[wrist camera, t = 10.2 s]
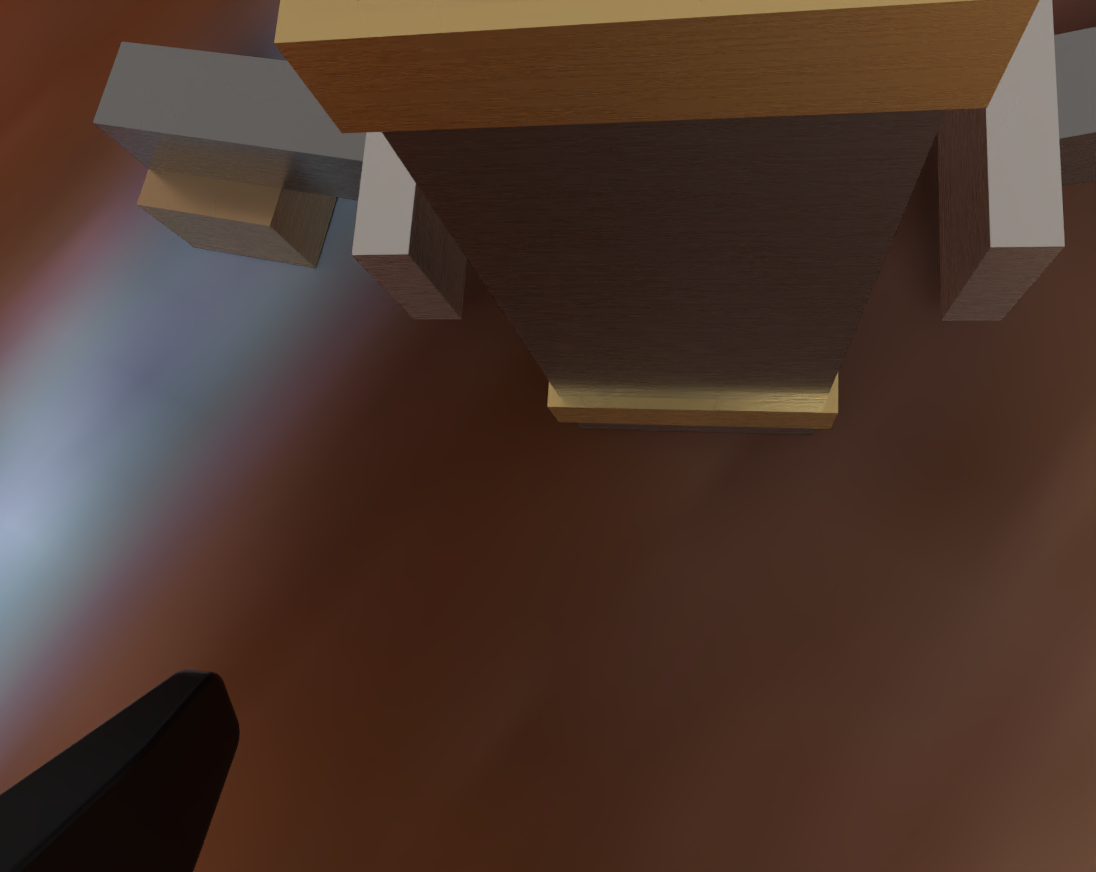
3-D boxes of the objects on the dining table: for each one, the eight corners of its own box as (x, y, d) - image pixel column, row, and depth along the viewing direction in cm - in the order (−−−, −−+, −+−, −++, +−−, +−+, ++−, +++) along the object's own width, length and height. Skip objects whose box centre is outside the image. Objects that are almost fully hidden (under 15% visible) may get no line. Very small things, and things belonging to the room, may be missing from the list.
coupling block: (822, 445, 18) (1039, -3, 6) (570, 437, 19) (273, 42, 6) (823, 208, 19) (1010, -618, 7) (585, 213, 20) (353, -498, 8)
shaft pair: (1346, 349, 17) (1577, 239, 12) (179, 340, 21) (31, 258, 17) (1313, 60, 18) (1511, -137, 13) (215, 111, 22) (87, -23, 18)
